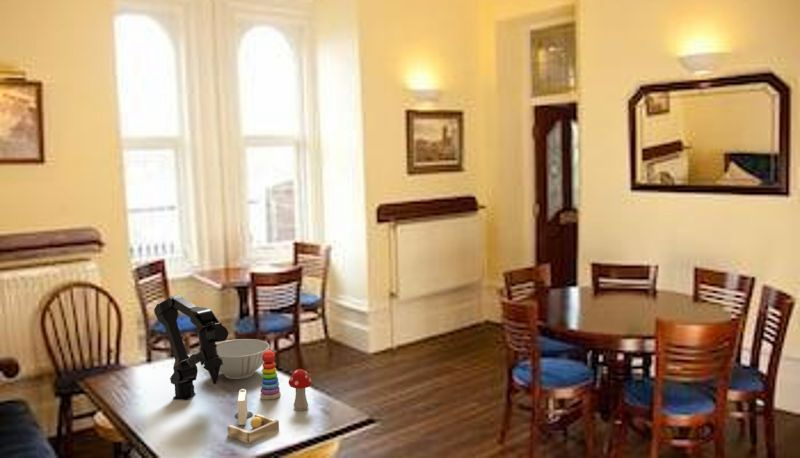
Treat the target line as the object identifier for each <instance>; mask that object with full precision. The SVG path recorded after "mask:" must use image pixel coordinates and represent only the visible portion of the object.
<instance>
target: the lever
mask: <svg viewBox="0 0 800 458" xmlns="http://www.w3.org/2000/svg"><path fill="white" fill-rule="evenodd" d="M237 397H238V398H237V413H238V418H237V420H238V426H245V425H246V424H247V423H246V422H247V418H246V417H247V411H248V405H247V404H248V400H247V389H245V388H241V389H239V392H238V396H237Z"/></svg>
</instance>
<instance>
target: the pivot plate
mask: <svg viewBox="0 0 800 458" xmlns="http://www.w3.org/2000/svg"><path fill="white" fill-rule="evenodd" d="M252 416H253V412H251V411H248V410H247V417H246V419H249V418H252ZM234 418H235V419H238V412H236V413H235V414H234Z"/></svg>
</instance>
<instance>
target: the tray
mask: <svg viewBox="0 0 800 458" xmlns="http://www.w3.org/2000/svg"><path fill="white" fill-rule="evenodd" d="M254 417H259V418H260V419H261V420H262V425H261V427H259V428H257V429H254V428H253V429H252V430H250V431H249V430H246V429H244V428H240V427H238V426H235V425H232V424H229V425H227V436H228V437H231V438H233V439H236V440H238V441H241V442H244V443H246V444H251V443H252V444H253V443H255V442H257V441H259V440H261V439H263V438H265V437H268V436H270V435H272V434H274V433H276V432H279V431H280V420H278V419H275V418H271V417H269V416H266V415H263V414H259V413H255V414H254Z"/></svg>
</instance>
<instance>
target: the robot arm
mask: <svg viewBox="0 0 800 458" xmlns="http://www.w3.org/2000/svg"><path fill="white" fill-rule="evenodd" d="M153 312H154V315H155V316H156V319H157V321H158V322H159V323H160V324H161V325H163V326H164V329H165V332H166V337H167V339H168V342H169V345H170V347H171V351H172V355H173V357H174V363H173V367H172V369H173V373H172V374H171V376H170V377H169V380H170V384H171V385H174V395H175V396H173V397H172V399H173V400H185V401H188V400H189V399H191V398H193V397H194V396H195V395H196V393H195V384H194V381H197V376H198V371H199V369H198V366H197V364H198V363H200V366H202V368H203V369H204V370H206V371H207V372H208V374H209V376H210V378H211V381H212V384H213V385H217V383H218V380H219V379H218V378H219V375H220V374H219V373H220V372H219V370H220V366H221V365H223V362H222V359H220V358H219V355H218V353H217V348H216V347H217V344H216V343H220V342H224V341H227V339H228V337H229V330H228V329H227V327H226V326H224V325H222V324H223V323H222V322H220V320H219V319H218V318H217V316H215V315H216V314H215V313H214V312H213V311H212V309H210V308H207V307H202V306H197V305H196V304H194V303H192V302H190V301H189V300H187V299H185V298H184V297H183V295H180V294H177V295H171V296H169V297H168V298H166V299H165V300H163V301H162V302H159V303H157V304H156V305H155V307H154V309H153ZM179 312H180V313H182V314H184V315H186V316H187V317H188V318H189V321H190V323H191V324H193V325H194V327H196V329H194V333H197V337H198V342H199V348H198V350H199V351H198V352H196V353H192V354H190V355H188V353H187V350H186V346H185V343H184V340H183V337H182V334H181V331H180V328H179V324H178V318H179Z"/></svg>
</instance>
